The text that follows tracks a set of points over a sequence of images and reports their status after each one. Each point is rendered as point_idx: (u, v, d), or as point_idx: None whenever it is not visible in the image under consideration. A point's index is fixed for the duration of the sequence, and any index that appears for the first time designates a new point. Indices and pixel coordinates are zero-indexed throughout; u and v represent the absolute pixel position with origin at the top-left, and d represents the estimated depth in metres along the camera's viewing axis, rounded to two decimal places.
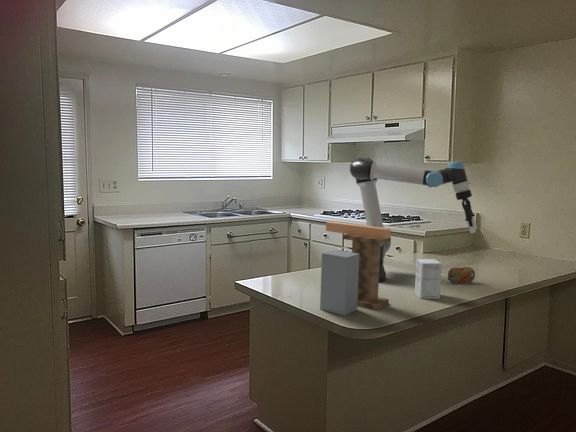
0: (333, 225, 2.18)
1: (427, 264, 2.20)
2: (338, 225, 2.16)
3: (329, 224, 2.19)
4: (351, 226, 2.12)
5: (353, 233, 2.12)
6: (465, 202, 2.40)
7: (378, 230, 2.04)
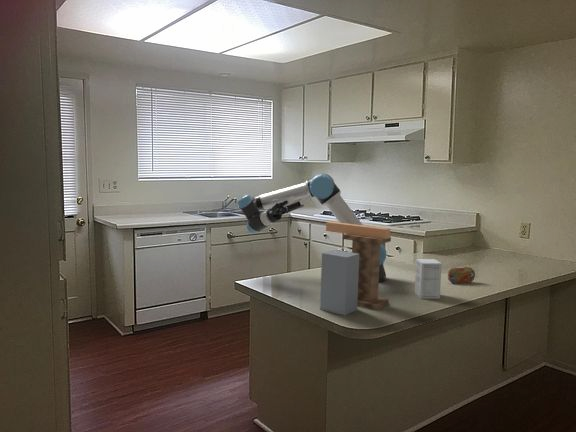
0: (333, 225, 2.18)
1: (427, 264, 2.20)
2: (338, 225, 2.16)
3: (329, 224, 2.19)
4: (351, 226, 2.12)
5: (353, 233, 2.12)
6: None
7: (378, 230, 2.04)
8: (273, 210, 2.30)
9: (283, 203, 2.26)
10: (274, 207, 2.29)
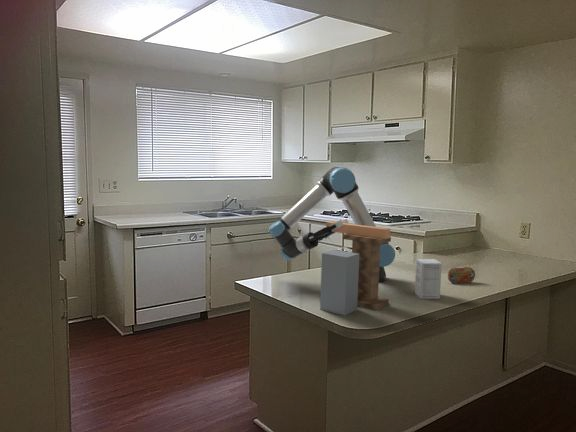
0: None
1: (427, 264, 2.20)
2: None
3: (329, 224, 2.19)
4: (351, 226, 2.12)
5: (353, 233, 2.12)
6: None
7: (378, 230, 2.04)
8: (316, 235, 2.19)
9: (331, 227, 2.17)
10: (320, 232, 2.18)
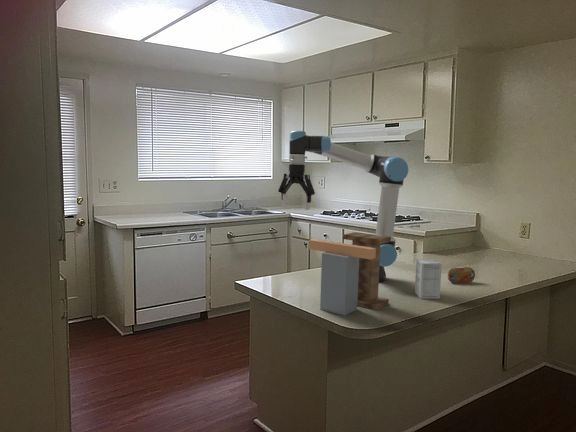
0: (316, 243, 2.05)
1: (427, 264, 2.20)
2: (321, 243, 2.03)
3: (312, 242, 2.06)
4: (335, 245, 1.99)
5: (337, 252, 1.99)
6: None
7: (363, 250, 1.91)
8: (309, 183, 2.25)
9: (310, 198, 2.26)
10: (311, 187, 2.26)
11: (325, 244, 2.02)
